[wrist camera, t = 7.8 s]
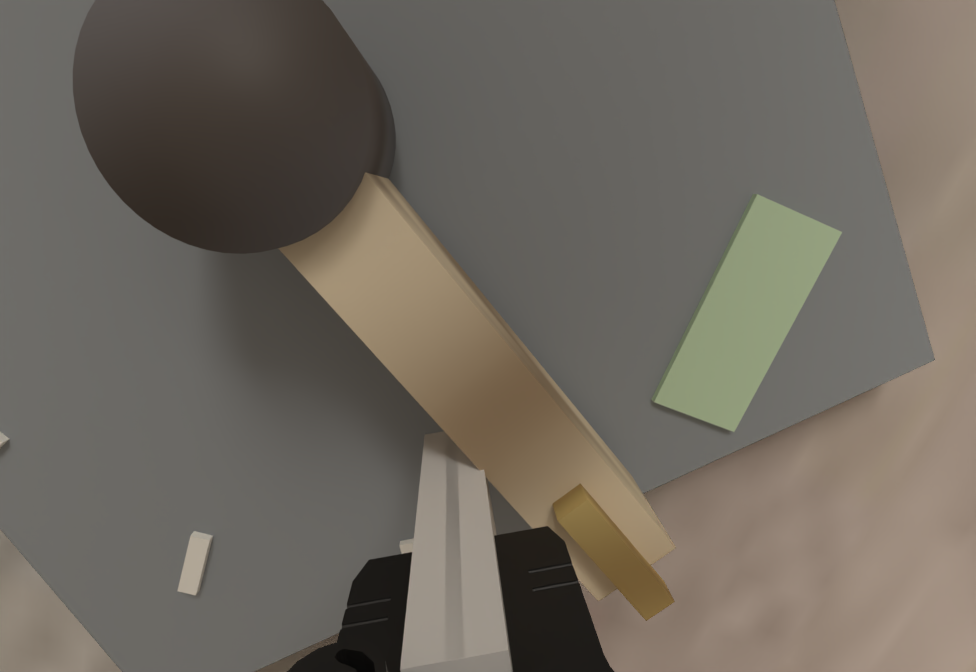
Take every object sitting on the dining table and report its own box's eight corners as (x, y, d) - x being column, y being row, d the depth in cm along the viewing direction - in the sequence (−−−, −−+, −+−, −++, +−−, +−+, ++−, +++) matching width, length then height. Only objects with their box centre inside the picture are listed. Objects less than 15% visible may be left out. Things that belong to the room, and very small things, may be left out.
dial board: (-471, -130, 11) (-628, -186, 10) (551, -786, 10) (569, -985, 8) (184, 672, 17) (154, 723, 16) (891, 346, 16) (941, 363, 14)
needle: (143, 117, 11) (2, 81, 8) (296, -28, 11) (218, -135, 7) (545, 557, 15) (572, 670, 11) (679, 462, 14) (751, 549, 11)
